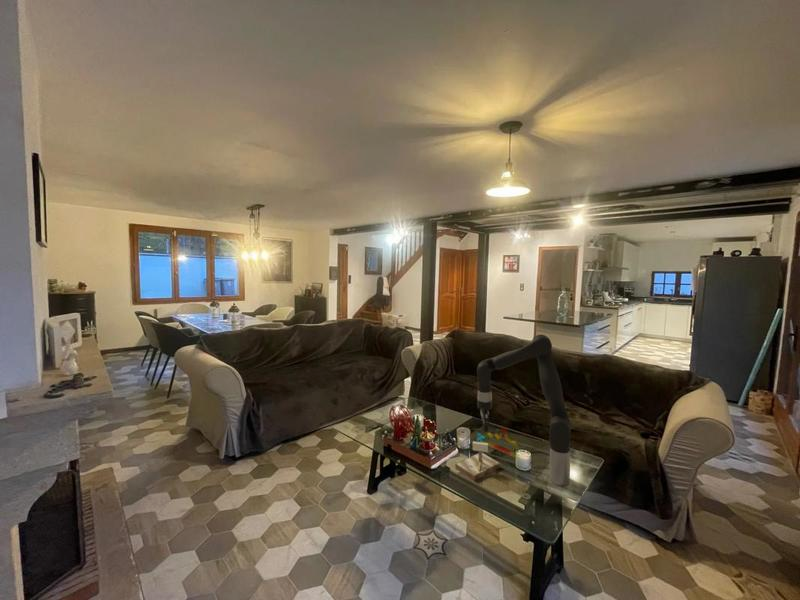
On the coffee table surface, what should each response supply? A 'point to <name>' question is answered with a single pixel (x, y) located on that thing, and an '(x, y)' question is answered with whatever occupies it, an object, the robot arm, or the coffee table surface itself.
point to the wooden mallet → (480, 450)
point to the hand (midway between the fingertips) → (484, 427)
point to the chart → (497, 447)
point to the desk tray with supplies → (477, 466)
